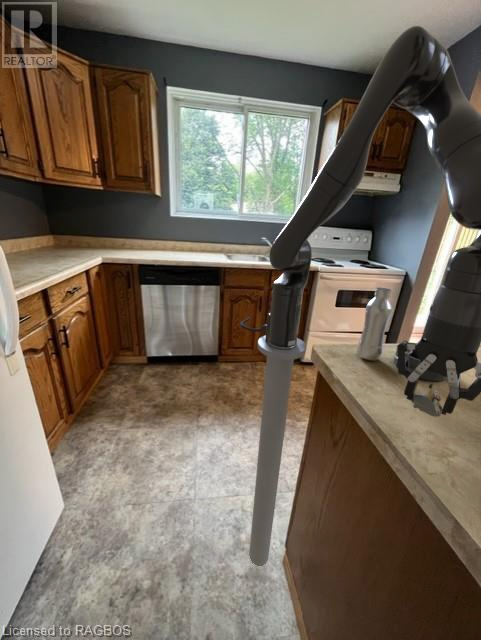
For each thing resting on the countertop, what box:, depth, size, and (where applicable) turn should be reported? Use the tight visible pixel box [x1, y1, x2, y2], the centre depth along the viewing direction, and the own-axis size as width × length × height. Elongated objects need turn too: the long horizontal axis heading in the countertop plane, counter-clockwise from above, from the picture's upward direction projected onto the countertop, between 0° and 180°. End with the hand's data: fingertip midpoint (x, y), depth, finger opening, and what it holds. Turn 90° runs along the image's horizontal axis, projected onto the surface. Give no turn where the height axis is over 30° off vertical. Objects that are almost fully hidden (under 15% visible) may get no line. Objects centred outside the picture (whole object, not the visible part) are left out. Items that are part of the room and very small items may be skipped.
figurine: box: [411, 383, 443, 418], centre depth 48 cm, size 5×4×6 cm
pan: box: [392, 344, 448, 382], centre depth 71 cm, size 12×12×5 cm
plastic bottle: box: [356, 287, 394, 361], centre depth 74 cm, size 6×7×20 cm
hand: (426, 404), depth 49 cm, fingers closed on figurine, 4 cm apart
